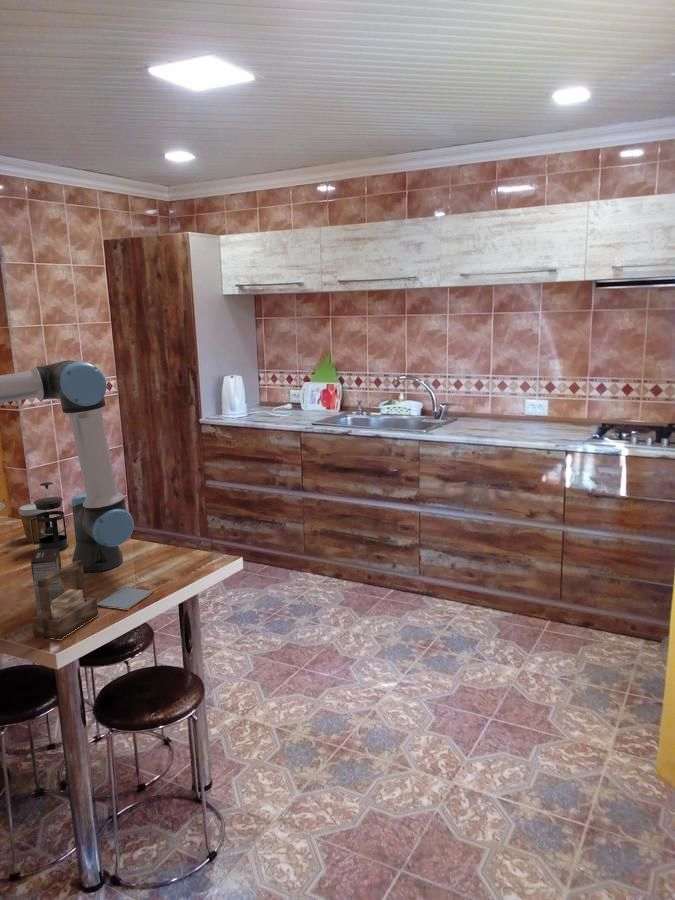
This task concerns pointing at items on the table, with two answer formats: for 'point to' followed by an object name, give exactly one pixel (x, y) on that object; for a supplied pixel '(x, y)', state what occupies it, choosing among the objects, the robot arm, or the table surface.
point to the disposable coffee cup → (31, 512)
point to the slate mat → (124, 598)
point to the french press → (49, 531)
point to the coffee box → (46, 573)
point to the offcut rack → (63, 605)
